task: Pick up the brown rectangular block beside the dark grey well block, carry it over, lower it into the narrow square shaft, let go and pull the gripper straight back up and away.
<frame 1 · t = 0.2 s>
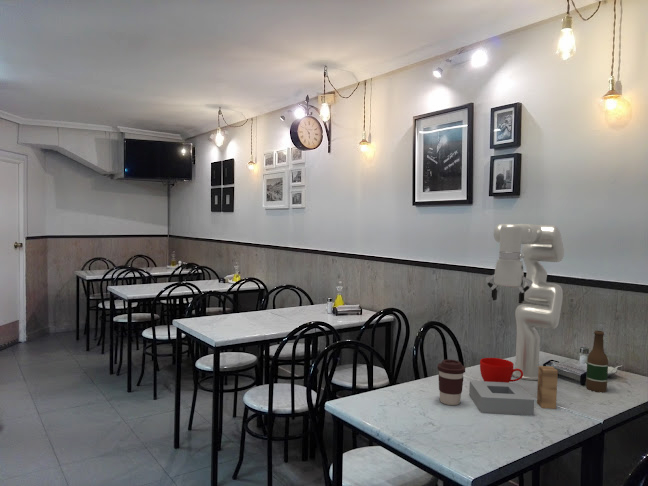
hand: (507, 301, 189), 37 cm above the table, tool pointing down, fingers open, 9 cm apart
coffee cup: (449, 402, 183), on the table
brown rectangular block: (546, 406, 181), on the table
ceramic cup: (500, 387, 201), on the table
well block: (499, 404, 181), on the table
beer bottle: (596, 390, 202), on the table
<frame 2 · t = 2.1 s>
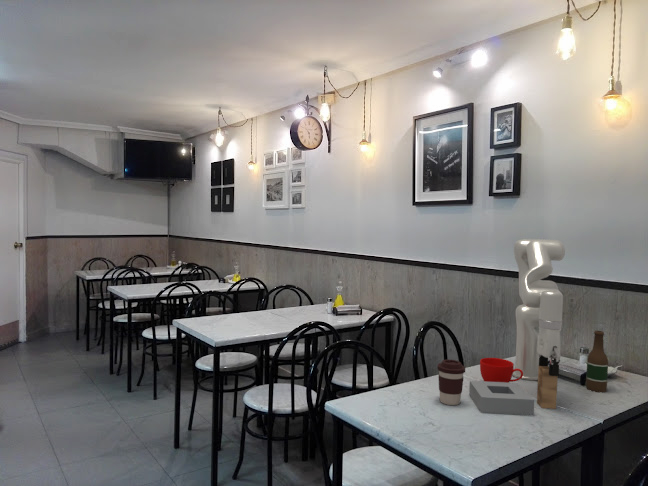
hand: (548, 371, 180), 13 cm above the table, tool pointing down, fingers open, 9 cm apart
nothing on the table moved.
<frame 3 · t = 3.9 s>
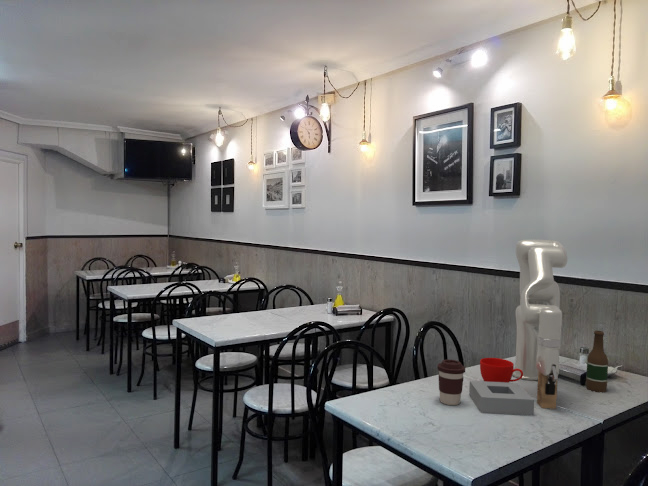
hand: (546, 391, 181), 5 cm above the table, tool pointing down, fingers closed on brown rectangular block, 5 cm apart
brown rectangular block: (546, 406, 181), on the table, touching gripper
everything else where it was.
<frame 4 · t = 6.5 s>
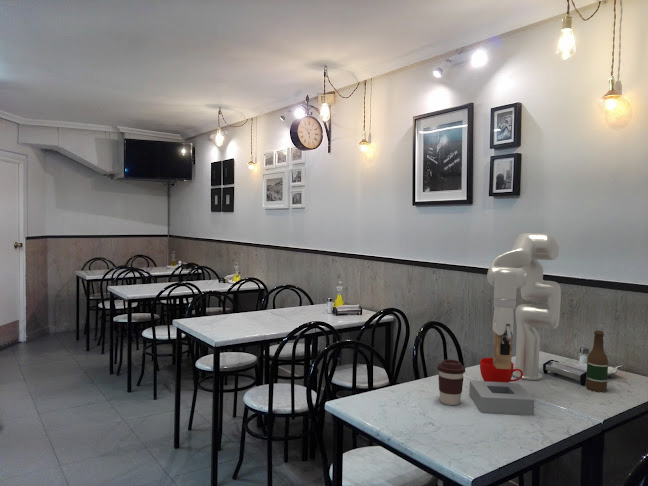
hand: (502, 352, 181), 19 cm above the table, tool pointing down, fingers closed on brown rectangular block, 5 cm apart
brown rectangular block: (501, 366, 181), point 14 cm above the table, touching gripper
everything else where it was.
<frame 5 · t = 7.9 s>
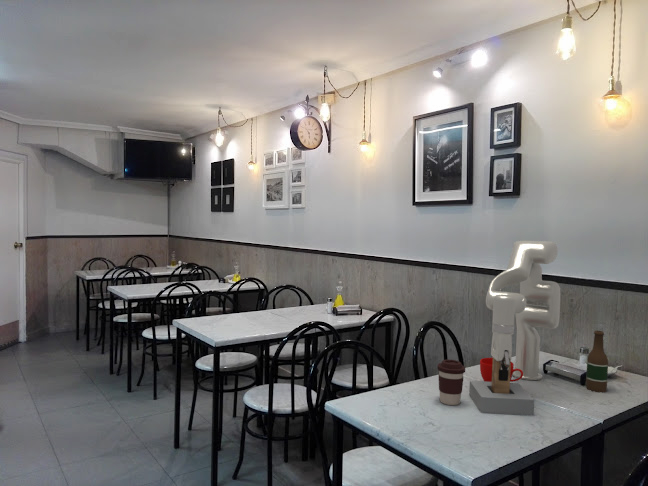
hand: (500, 377, 181), 10 cm above the table, tool pointing down, fingers closed on brown rectangular block, 5 cm apart
brown rectangular block: (500, 392, 181), point 5 cm above the table, touching gripper
everything else where it was.
when the fingers open (8 cm above the table, at t = 9.2 s): brown rectangular block drops 2 cm, resting on well block.
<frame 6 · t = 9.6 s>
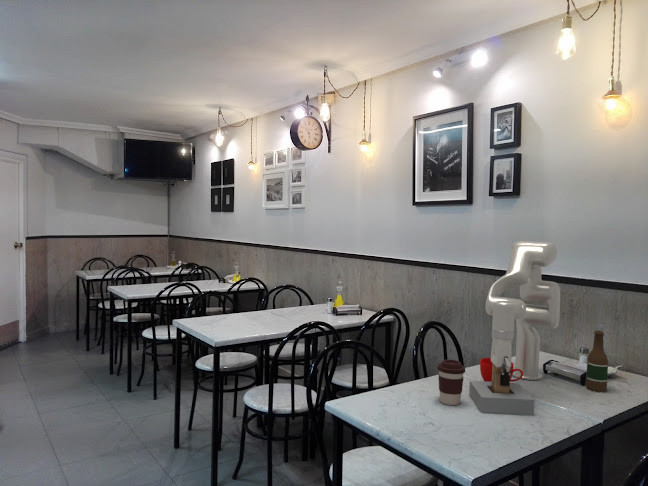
hand: (500, 381, 181), 9 cm above the table, tool pointing down, fingers open, 9 cm apart
brown rectangular block: (499, 403, 182), resting on well block
everything else where it was.
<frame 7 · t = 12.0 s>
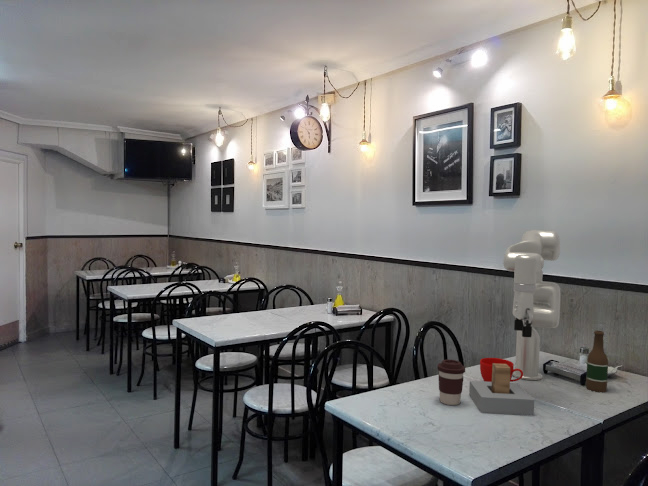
hand: (522, 333, 184), 26 cm above the table, tool pointing down, fingers open, 9 cm apart
nothing on the table moved.
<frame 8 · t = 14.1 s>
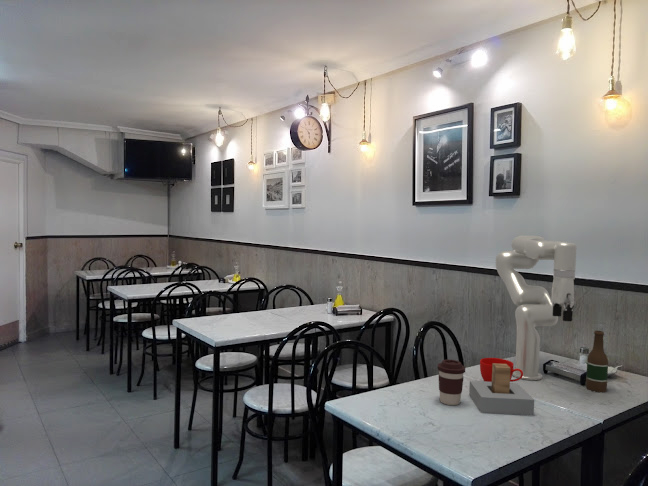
hand: (561, 318, 191), 30 cm above the table, tool pointing down, fingers open, 9 cm apart
nothing on the table moved.
at the end: brown rectangular block 0.2 cm off-centre on the well block, point 0.4 cm above the well block's base; brown rectangular block tilted 0°; the gripper is holding nothing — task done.
